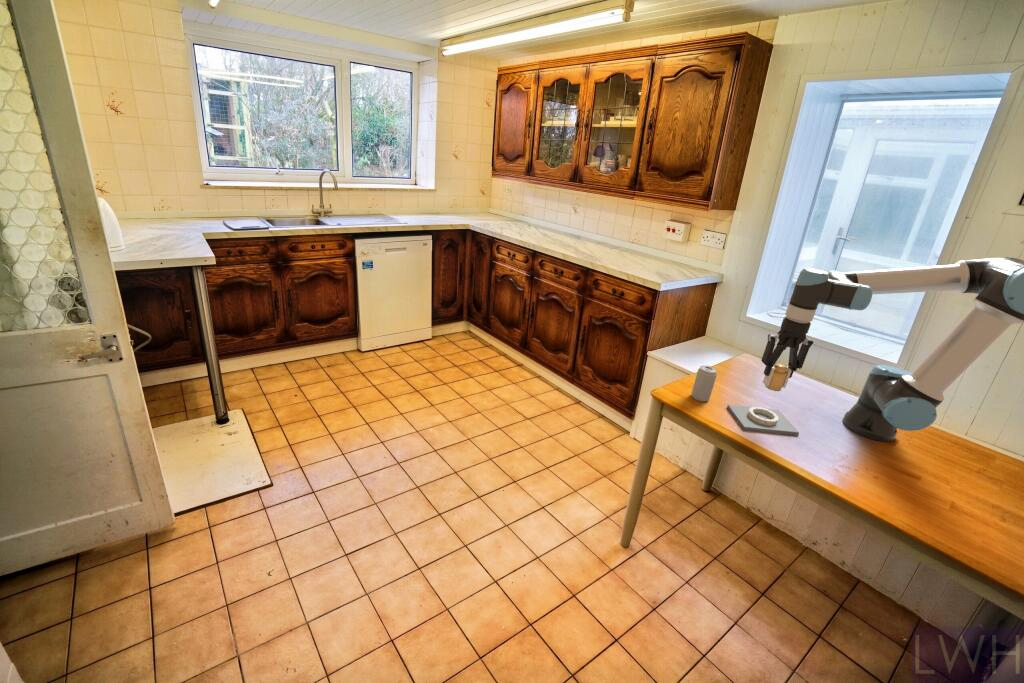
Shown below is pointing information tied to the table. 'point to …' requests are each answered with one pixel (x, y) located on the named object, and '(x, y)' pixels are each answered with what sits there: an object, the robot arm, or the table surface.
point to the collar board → (760, 427)
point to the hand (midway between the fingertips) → (773, 384)
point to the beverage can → (704, 383)
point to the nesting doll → (777, 377)
